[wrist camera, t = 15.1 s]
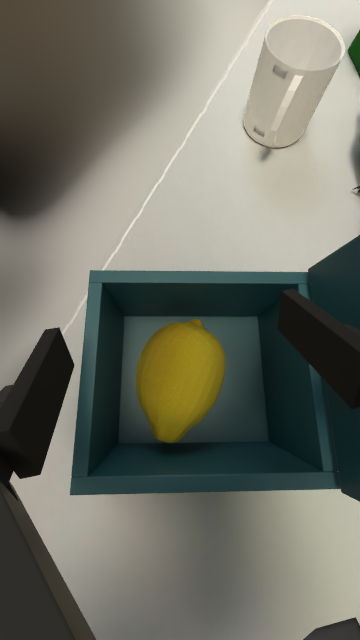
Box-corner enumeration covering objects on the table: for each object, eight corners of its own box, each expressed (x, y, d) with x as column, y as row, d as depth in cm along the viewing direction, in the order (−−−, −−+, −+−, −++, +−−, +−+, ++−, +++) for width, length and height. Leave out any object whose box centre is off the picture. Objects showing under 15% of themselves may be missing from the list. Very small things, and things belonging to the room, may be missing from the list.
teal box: (109, 452, 26) (69, 495, 15) (117, 310, 29) (89, 270, 19) (275, 449, 26) (341, 489, 16) (262, 310, 30) (309, 271, 20)
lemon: (168, 316, 28) (163, 289, 21) (233, 345, 27) (253, 328, 20) (122, 408, 26) (96, 417, 18) (191, 444, 25) (196, 469, 17)
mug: (257, 93, 39) (283, 5, 30) (312, 116, 38) (355, 33, 29) (223, 146, 36) (240, 66, 27) (281, 173, 35) (319, 99, 26)
